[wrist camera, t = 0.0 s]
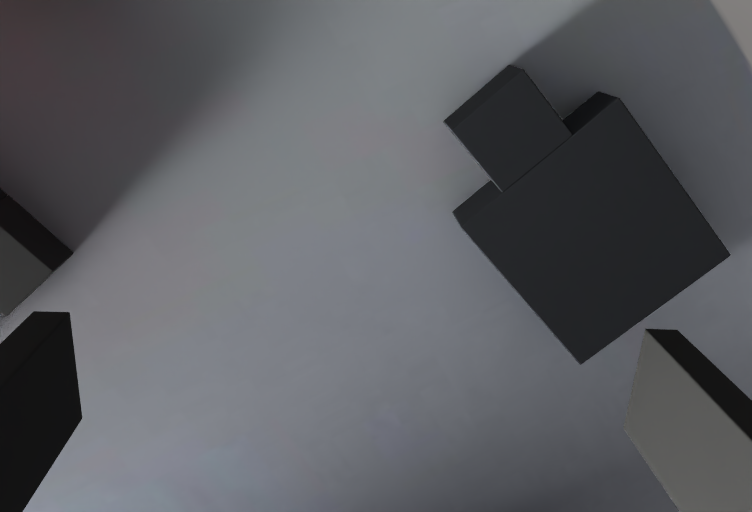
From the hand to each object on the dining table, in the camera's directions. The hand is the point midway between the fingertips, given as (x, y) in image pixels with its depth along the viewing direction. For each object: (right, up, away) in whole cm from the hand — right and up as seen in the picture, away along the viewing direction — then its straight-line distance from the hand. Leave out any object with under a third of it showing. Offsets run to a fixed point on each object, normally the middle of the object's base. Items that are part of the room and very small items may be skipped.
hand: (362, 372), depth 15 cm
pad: (+10, +6, +18) cm, 21 cm away
